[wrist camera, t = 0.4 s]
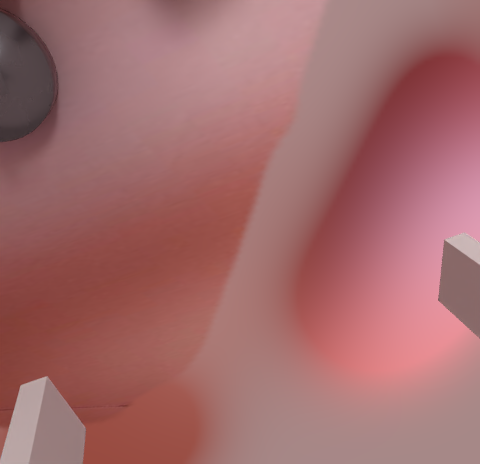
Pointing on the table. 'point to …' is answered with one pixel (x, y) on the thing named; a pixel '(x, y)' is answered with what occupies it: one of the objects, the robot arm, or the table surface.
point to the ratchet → (23, 78)
